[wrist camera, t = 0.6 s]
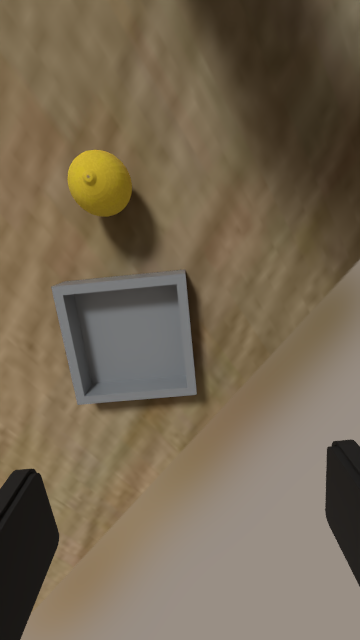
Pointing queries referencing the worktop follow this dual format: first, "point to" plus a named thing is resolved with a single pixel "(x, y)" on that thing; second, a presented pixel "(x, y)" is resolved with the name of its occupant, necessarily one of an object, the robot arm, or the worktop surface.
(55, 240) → the worktop surface
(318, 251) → the worktop surface
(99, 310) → the box
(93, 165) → the lemon
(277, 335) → the worktop surface
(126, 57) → the worktop surface
